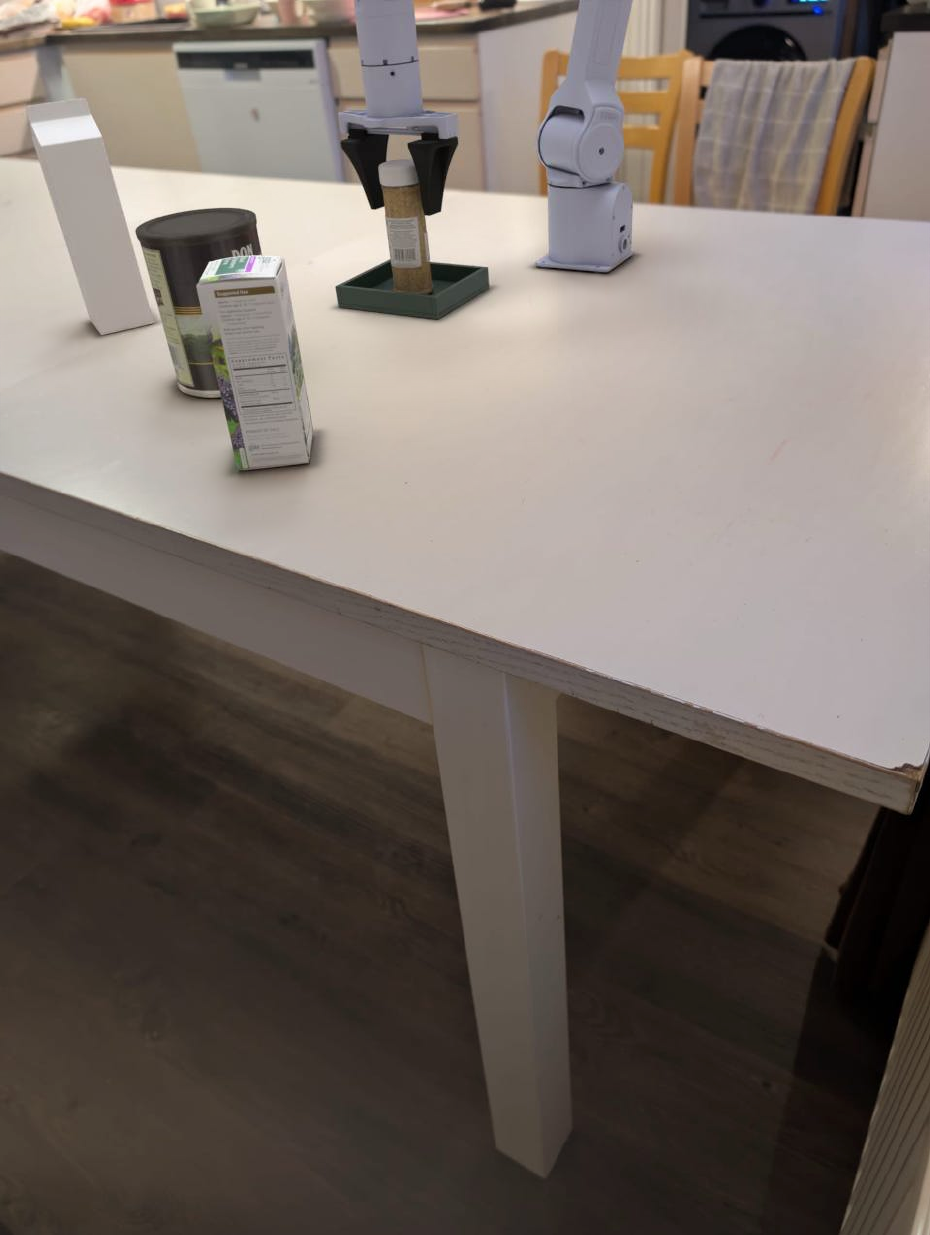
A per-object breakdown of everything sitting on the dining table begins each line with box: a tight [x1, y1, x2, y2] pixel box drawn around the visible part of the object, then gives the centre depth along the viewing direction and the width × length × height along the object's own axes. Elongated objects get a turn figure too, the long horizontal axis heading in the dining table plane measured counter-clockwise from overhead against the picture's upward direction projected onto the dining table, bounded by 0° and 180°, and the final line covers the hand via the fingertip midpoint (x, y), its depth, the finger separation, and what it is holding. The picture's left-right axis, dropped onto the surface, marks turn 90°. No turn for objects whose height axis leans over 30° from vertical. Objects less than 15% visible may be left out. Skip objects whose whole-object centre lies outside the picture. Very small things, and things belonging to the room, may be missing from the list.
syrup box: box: [196, 254, 314, 471], centre depth 68 cm, size 6×6×14 cm
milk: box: [25, 97, 155, 336], centre depth 96 cm, size 6×6×22 cm
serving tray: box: [334, 258, 490, 320], centre depth 102 cm, size 13×11×2 cm
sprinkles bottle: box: [378, 158, 433, 295], centre depth 98 cm, size 5×5×13 cm
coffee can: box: [134, 207, 263, 399], centre depth 83 cm, size 10×10×14 cm
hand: (405, 210), depth 97 cm, fingers open, 7 cm apart
